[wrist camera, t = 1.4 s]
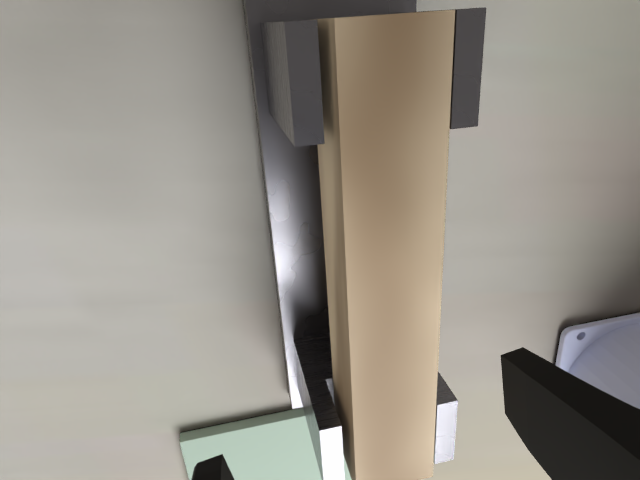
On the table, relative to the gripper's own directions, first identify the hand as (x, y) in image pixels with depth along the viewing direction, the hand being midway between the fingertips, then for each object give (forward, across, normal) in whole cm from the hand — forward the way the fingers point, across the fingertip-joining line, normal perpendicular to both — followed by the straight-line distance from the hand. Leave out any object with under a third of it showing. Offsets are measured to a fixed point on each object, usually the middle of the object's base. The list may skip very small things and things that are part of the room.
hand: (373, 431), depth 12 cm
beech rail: (+6, -2, -1) cm, 7 cm away
